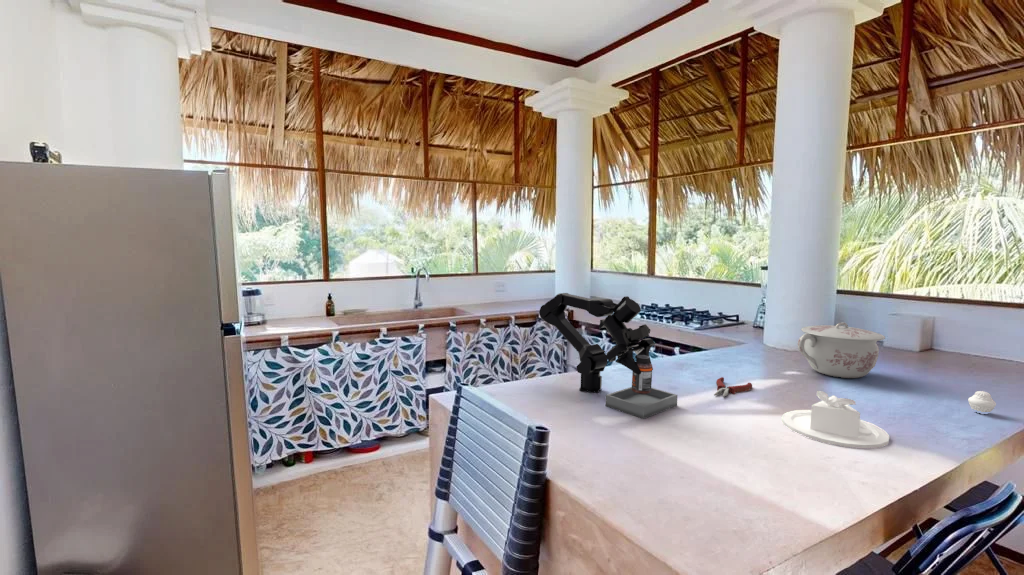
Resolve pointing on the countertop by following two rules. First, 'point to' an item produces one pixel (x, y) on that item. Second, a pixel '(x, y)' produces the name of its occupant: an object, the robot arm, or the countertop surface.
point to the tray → (641, 402)
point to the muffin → (982, 402)
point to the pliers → (730, 388)
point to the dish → (835, 424)
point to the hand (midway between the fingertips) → (646, 372)
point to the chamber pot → (840, 349)
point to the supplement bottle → (642, 375)
